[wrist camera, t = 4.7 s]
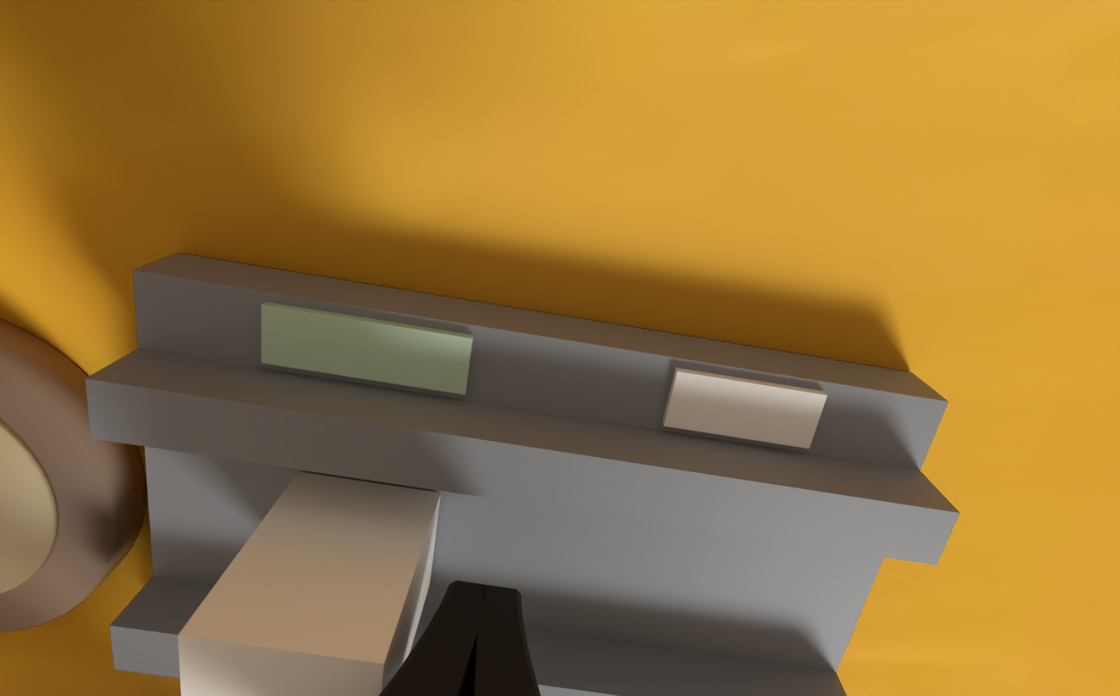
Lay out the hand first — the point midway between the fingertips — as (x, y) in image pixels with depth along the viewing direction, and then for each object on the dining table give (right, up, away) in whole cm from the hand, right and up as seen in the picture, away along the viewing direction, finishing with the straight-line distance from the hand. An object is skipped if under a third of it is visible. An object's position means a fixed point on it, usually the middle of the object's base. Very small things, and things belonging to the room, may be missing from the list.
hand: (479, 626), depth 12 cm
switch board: (+1, +1, +4) cm, 4 cm away
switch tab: (-3, +1, +2) cm, 4 cm away
